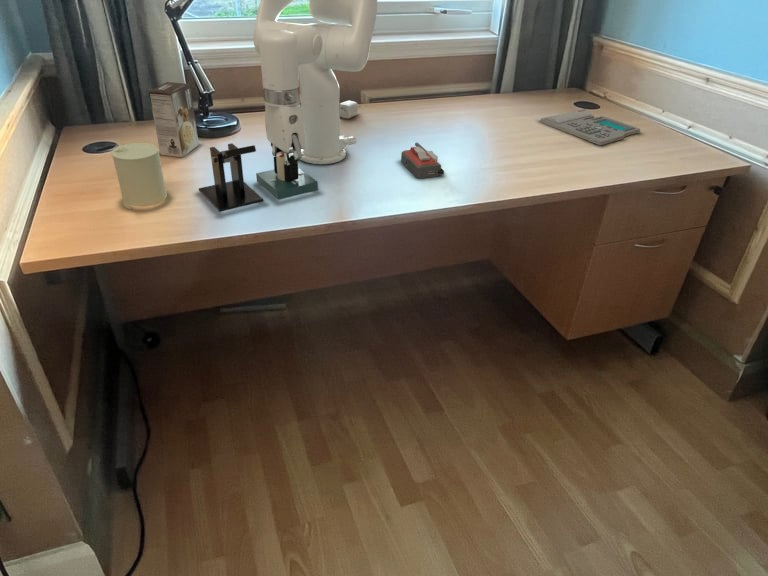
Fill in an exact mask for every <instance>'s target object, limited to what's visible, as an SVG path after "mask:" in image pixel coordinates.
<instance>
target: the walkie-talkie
mask: <svg viewBox="0 0 768 576" xmlns="http://www.w3.org/2000/svg"><path fill="white" fill-rule="evenodd" d="M400 155H401V156H400V161H401V163H402V164H403V165H404V166H405V168H407V170H409V171H410V172H411V174H413V175H414V176H415V178H417V179H428V178H436V177H437V178H438V177H440V176H442V175H445V170H444V169H443V168H442V164H440V163H439V162H438V155H436V153H434V151H433V150H427V149H426V148H424V147H423V146H422V145H421V144H420V143H419V142H415V143H414V146H411V147H410V148H409V149H407V150H403V151H401V154H400Z"/></svg>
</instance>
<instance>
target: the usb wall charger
mask: <svg viewBox="0 0 768 576" xmlns="http://www.w3.org/2000/svg"><path fill="white" fill-rule="evenodd" d="M360 108H361V106H360V105H359V104H358V102H357V101H353V100H350V99H349V100H346V101H343V102H339V110H340V118H343V119H350V118H353V117H356V116H358V114H359V113H358V109H360Z"/></svg>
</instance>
